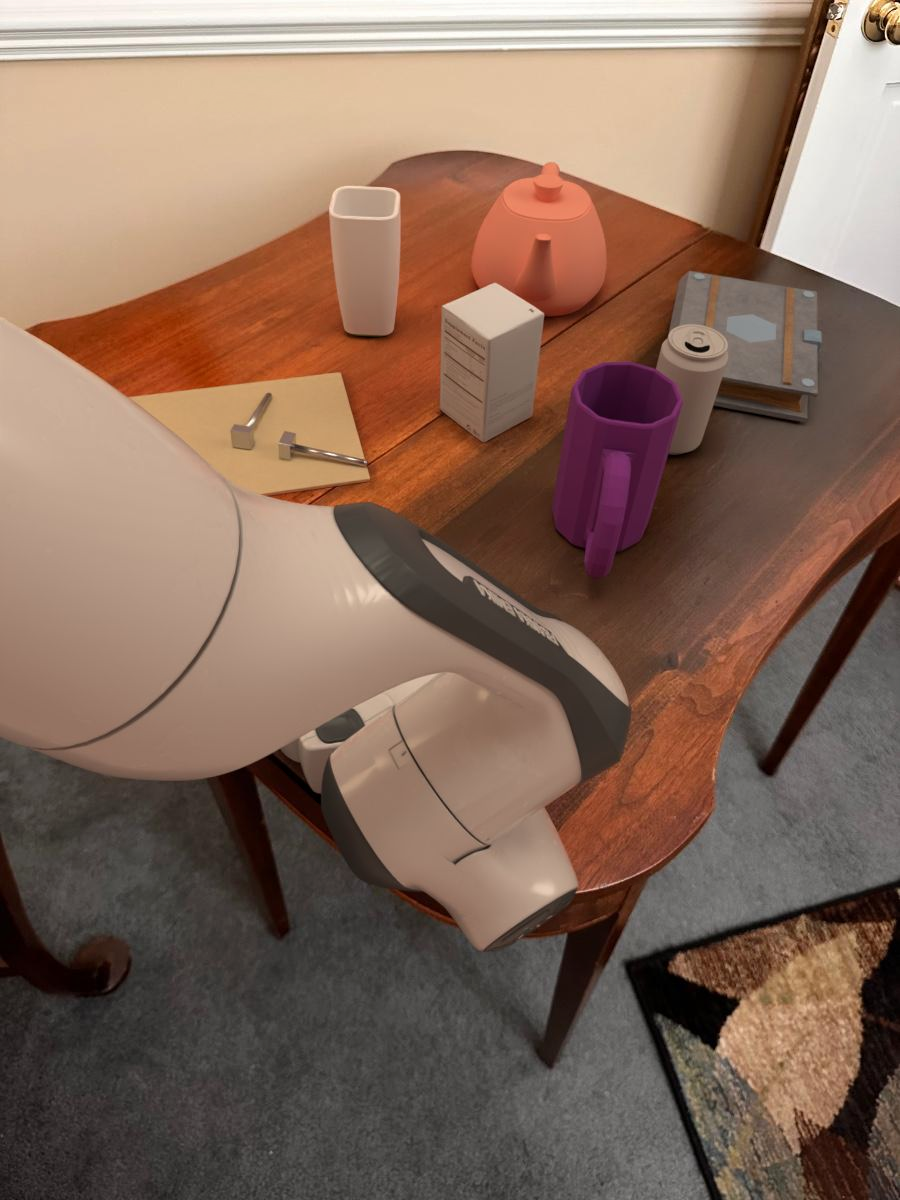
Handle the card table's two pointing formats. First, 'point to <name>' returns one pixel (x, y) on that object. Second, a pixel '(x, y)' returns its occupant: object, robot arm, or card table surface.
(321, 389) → the mat
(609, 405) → the mug
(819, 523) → the card table surface
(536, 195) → the teapot
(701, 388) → the beverage can
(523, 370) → the white packaging box
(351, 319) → the cup
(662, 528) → the card table surface
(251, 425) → the square head hammer
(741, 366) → the book
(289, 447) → the metal mallet
